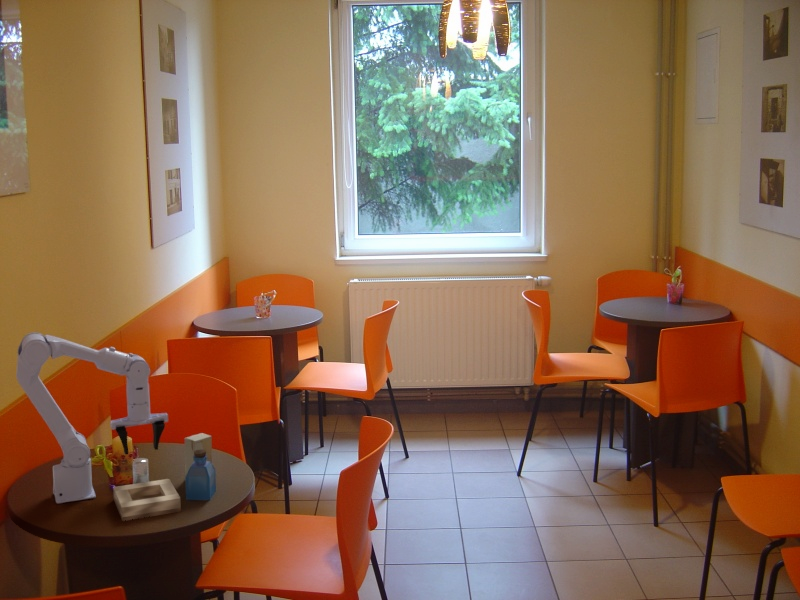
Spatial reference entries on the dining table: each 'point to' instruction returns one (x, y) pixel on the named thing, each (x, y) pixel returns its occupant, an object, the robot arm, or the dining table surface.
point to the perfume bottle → (200, 478)
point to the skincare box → (197, 448)
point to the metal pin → (140, 470)
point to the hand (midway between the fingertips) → (141, 450)
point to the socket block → (146, 499)
